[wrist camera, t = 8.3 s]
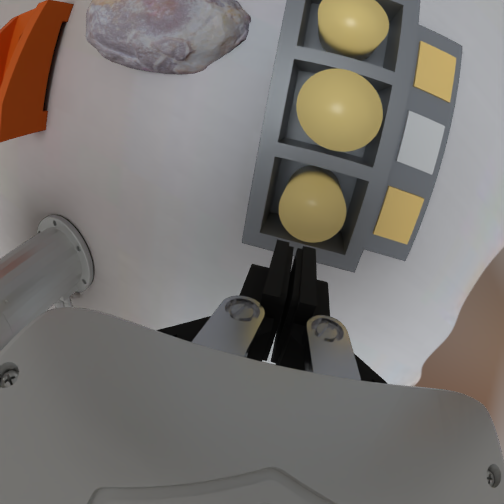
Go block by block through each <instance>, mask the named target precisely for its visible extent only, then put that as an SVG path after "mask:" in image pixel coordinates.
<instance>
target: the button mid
mask: <svg viewBox="0 0 504 504" xmlns="http://www.w3.org/2000/svg"><path fill="white" fill-rule="evenodd" d="M296 110H297V116H298V119H299V122H300V124H301V126H302V128H303V130H304V131H305V133H306V134H307V135H308V136H309V137H310V138H311V139H312V140H313V141H314V142H315V143H317V144H319V145H320V146H322V147H324V148H326V149H329V150H333V151H340V152H347V151H353V150H357V149H359V148H362V147H364V146H365V145H367V144H368V143H369V142H370V141H372V140H373V138H374V137H375V136H376V134H377V133H378V131H379V129H380V127H381V123H382V118H383V109H382V104H381V100H380V98H379V95H378V93H377V92H376V90H375V89H374V87H373V86H372V85H371V84H370V83H369V82H368V81H367V80H366V79H365V78H364V77H362V76H360V75H359V74H357V73H355V72H352V71H349V70H345V69H327V70H323V71H320V72H318V73H316V74H314V75H313V76H311V77H310V78H309V79H308V80H307V81H306V82H305V83H304V84H303V86H302V88H301V89H300V92H299V94H298V98H297V104H296Z"/></svg>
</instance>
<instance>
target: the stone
mask: <svg viewBox="0 0 504 504" xmlns="http://www.w3.org/2000/svg"><path fill="white" fill-rule="evenodd" d="M250 22H251V18H250V16H249V15H248V14H247V13H246V12H245V11H244V10H243V9H242V7H241V6H240V4H239V3H238V2H237V1H235V0H92V2H91V4H90V6H89V7H88V9H87V13H86V38H87V41H88V42H89V43H90V44H91V45H93V46H94V47H95V48H96V49H97V50H98V52H99V53H100V54H101V55H102V56H103V57H104V58H106V59H108V60H110V61H112V62H115V63H118V64H121V65H124V66H127V67H130V68H134V69H139V70H145V71H152V72H160V73H172V74H193V73H197V72H200V71H202V70H204V69H205V68H206V67H207V66H208V65H210V64H211V63H213V62H214V61H216V60H218V59H220V58H221V57H223V56H224V55H225V54H227V53H229V52H230V51H231V50H233V49H234V48H235V47H236V46H238V45H239V44H240V43H241V42H242V41H244V40H246V37H247V35H248V31H249V30H248V28H249V23H250Z"/></svg>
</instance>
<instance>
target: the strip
mask: <svg viewBox="0 0 504 504" xmlns="http://www.w3.org/2000/svg"><path fill="white" fill-rule="evenodd" d="M461 57H462V46H461V45H459V44H458V43H456V42H454V41H452V40H450V39H448V38H446V37H444V36H442V35H440V34H438V33H436V32H434V31H432V30H430V29H428V28H425V27H423V26H421V25H418V34H417V42H416V50H415V57H414V64H413V71H412V77H411V82H410V88H409V93H408V98H407V103H406V108H405V113H404V117H403V122H402V126H401V130H400V134H399V138H398V142H397V146H396V150H395V154H394V158H393V161H392V165H391V168H390V172H389V175H388V179H387V182H386V185H385V188H384V192H383V195H382V198H381V201H380V204H379V207H378V210H377V213H376V216H375V219H374V222H373V225H372V228H371V231H370V233H369V236H368V239H367V242H366V244H365V247H364V249H365V250H369V251H372V252H376V253H379V254H382V255H386V256H389V257H393V258H396V259H400V260H403V261H406V258H407V256H408V254H409V252H410V249H411V247H412V245H413V242H414V240H415V237H416V235H417V232H418V230H419V227H420V225H421V222H422V219H423V217H424V214H425V211H426V209H427V206H428V203H429V200H430V197H431V194H432V191H433V188H434V185H435V182H436V179H437V175H438V172H439V169H440V165H441V162H442V158H443V155H444V151H445V147H446V143H447V139H448V135H449V131H450V126H451V122H452V117H453V112H454V107H455V101H456V95H457V89H458V82H459V75H460V67H461Z"/></svg>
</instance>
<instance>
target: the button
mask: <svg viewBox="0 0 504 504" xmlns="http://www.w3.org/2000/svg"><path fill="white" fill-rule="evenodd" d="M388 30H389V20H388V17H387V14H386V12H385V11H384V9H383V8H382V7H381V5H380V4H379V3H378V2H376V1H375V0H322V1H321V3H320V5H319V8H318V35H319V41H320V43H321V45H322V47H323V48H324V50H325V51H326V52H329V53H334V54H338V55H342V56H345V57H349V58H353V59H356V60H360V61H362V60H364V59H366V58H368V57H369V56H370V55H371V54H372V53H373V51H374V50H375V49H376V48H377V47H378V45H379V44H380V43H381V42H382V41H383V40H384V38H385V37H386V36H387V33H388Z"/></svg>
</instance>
